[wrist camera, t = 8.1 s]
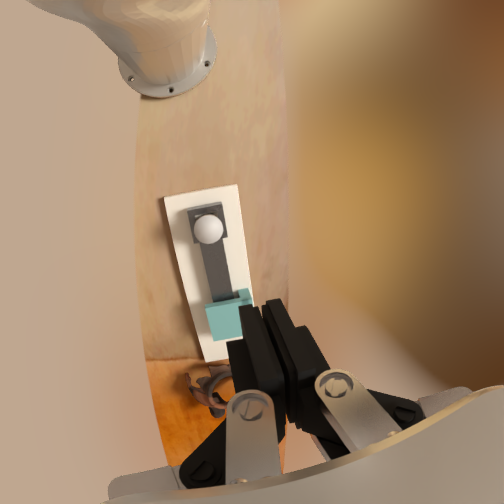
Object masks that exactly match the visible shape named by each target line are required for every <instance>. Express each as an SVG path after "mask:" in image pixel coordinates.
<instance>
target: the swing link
mask: <svg viewBox="0 0 504 504" xmlns="http://www.w3.org/2000/svg"><path fill="white" fill-rule="evenodd" d="M216 211H217V216H218V219H219V220H220V221H221V223H222V226H223V234H222V236H221V238H220V239H219V240H218V241H216V242H214V243H211V244H205V243H202V242H200V241H199V240H198V239H197V238H196V236H195V234H194V225H195V223H196V217H195V216H196V215H201V214H206V213H211V212H216ZM187 213H188V218H189V223H190V228H191V232H192V237H193V242H194V244H196V243H200V248H201V253H202V257H203V262H204V266H205V270H206V275H207V279H208V283H209V288H210V292H211V296H212V300H213V303H215V302H221V301H226V300H231V299H234V296H233V291H232V285H231V280H230V275H229V270H228V265H227V259H226V254H225V249H224V243H223V238H227V237H228V234H227V229H226V223H225V217H224V211H223V205H222V202H215V203H210V204H205V205H200V206H195V207H190V208H187Z"/></svg>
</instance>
